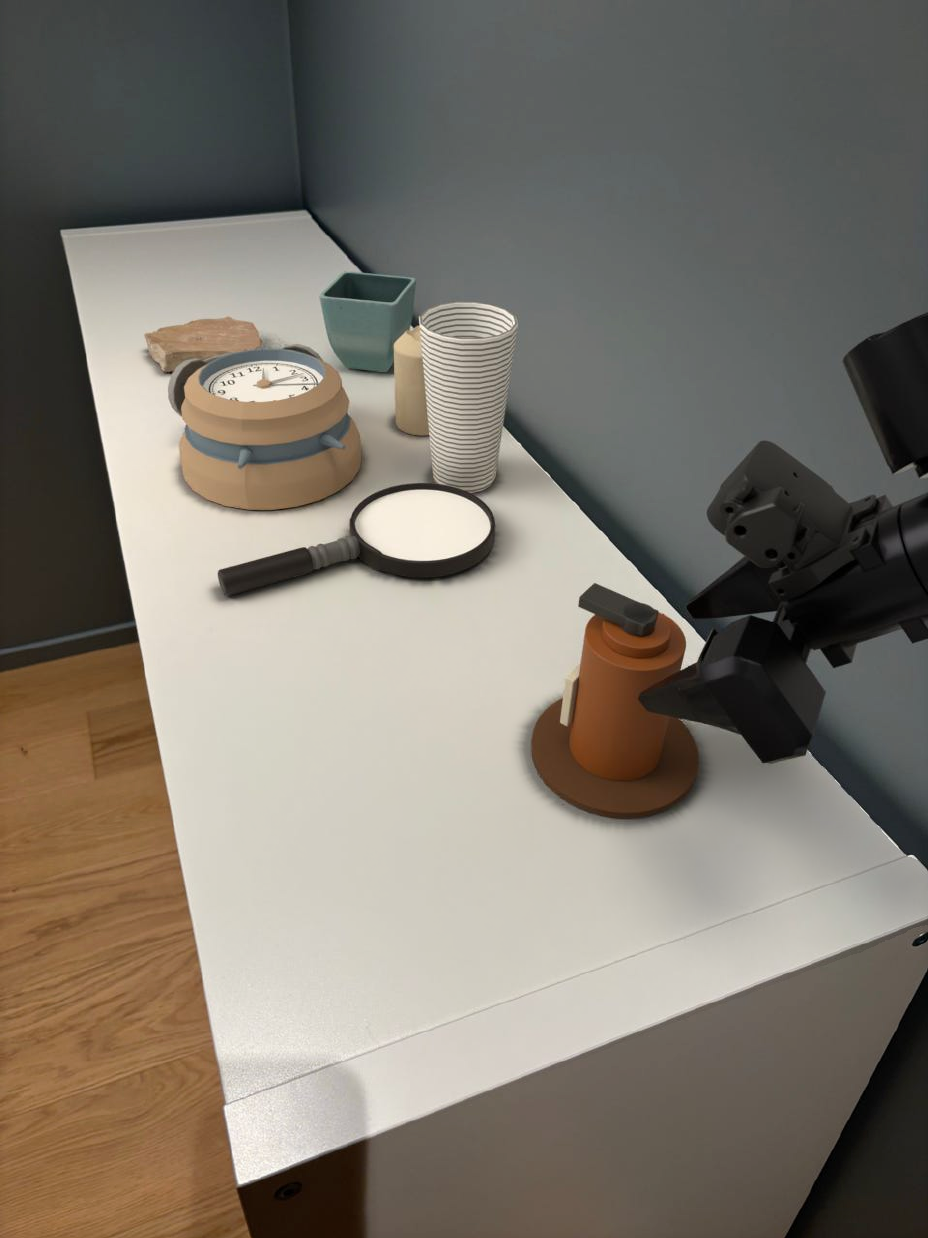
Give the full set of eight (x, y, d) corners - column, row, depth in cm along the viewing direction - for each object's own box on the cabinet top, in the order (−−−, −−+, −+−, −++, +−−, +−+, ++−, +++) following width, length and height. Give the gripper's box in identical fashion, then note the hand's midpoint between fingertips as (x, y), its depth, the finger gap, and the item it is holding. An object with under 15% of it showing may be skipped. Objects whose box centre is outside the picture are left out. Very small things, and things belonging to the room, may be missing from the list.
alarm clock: (186, 432, 75) (140, 328, 91) (203, 527, 81) (157, 413, 97) (383, 398, 80) (307, 305, 96) (386, 489, 86) (314, 388, 102)
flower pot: (347, 344, 112) (343, 269, 106) (417, 352, 111) (417, 276, 105) (323, 373, 105) (317, 295, 100) (397, 383, 104) (396, 304, 98)
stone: (255, 331, 114) (253, 311, 112) (267, 372, 105) (264, 351, 104) (147, 342, 111) (142, 321, 109) (149, 384, 102) (145, 362, 101)
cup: (519, 495, 86) (531, 334, 76) (430, 506, 84) (431, 343, 74) (493, 451, 92) (501, 297, 82) (410, 460, 90) (408, 304, 81)
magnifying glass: (200, 553, 78) (196, 532, 76) (452, 487, 87) (453, 467, 85) (248, 639, 69) (244, 617, 68) (521, 556, 78) (522, 535, 77)
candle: (397, 437, 94) (395, 342, 88) (393, 412, 98) (391, 320, 92) (451, 435, 95) (452, 341, 88) (445, 410, 99) (446, 319, 93)
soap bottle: (676, 740, 62) (709, 607, 54) (632, 796, 58) (661, 661, 51) (591, 697, 64) (611, 566, 57) (544, 747, 61) (560, 613, 53)
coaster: (725, 742, 62) (726, 736, 62) (647, 848, 55) (649, 842, 55) (585, 673, 67) (586, 667, 67) (498, 763, 60) (499, 756, 60)
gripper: (870, 347, 49) (640, 475, 59) (799, 517, 36) (521, 642, 46) (974, 513, 51) (735, 607, 62) (943, 729, 38) (647, 801, 49)
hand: (667, 654), depth 55 cm, fingers open, 9 cm apart
